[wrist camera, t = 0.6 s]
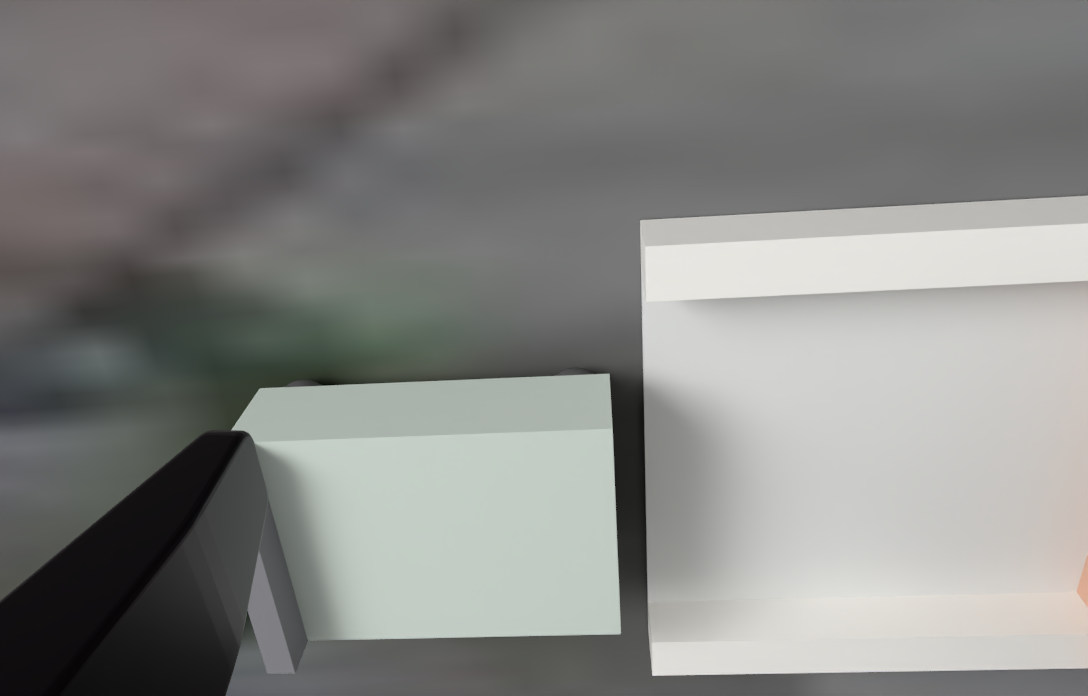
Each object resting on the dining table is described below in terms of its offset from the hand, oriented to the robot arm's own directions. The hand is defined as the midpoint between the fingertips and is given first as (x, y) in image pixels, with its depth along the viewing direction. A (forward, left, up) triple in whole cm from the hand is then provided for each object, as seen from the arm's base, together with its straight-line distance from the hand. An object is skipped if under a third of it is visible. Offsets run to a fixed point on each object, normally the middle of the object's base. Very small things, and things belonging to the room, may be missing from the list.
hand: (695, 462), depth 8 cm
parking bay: (-2, -12, -14) cm, 19 cm away
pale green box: (-11, -3, -14) cm, 18 cm away
